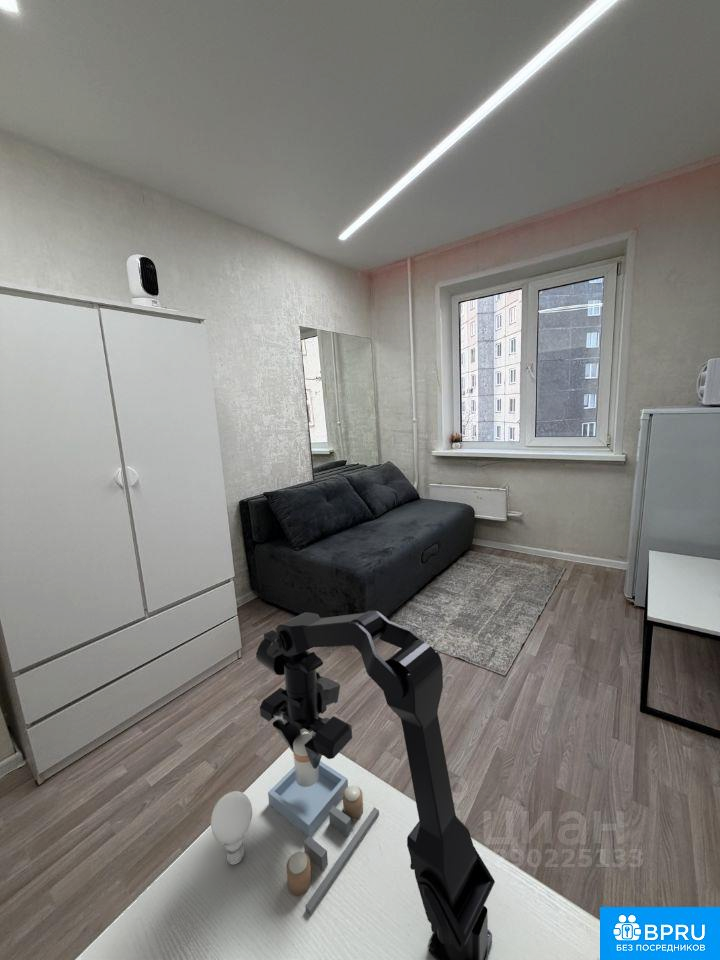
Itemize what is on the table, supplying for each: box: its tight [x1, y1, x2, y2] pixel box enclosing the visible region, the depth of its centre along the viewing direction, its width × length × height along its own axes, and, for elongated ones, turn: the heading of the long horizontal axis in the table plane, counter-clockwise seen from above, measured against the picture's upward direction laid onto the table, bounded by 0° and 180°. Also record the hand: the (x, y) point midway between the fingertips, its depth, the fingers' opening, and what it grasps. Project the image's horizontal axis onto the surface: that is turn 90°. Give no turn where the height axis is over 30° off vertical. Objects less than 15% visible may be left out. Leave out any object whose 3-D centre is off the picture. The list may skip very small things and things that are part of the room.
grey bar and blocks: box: [303, 806, 380, 916], centre depth 63 cm, size 6×18×2 cm, turn 143°
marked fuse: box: [292, 732, 319, 787], centre depth 71 cm, size 4×4×7 cm
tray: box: [267, 760, 349, 838], centre depth 72 cm, size 11×11×2 cm
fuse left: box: [285, 851, 312, 897], centre depth 58 cm, size 4×4×4 cm
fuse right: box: [342, 784, 364, 821], centre depth 69 cm, size 4×4×4 cm
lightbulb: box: [210, 790, 253, 865], centre depth 61 cm, size 6×6×11 cm
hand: (306, 760), depth 71 cm, fingers closed on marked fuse, 4 cm apart
